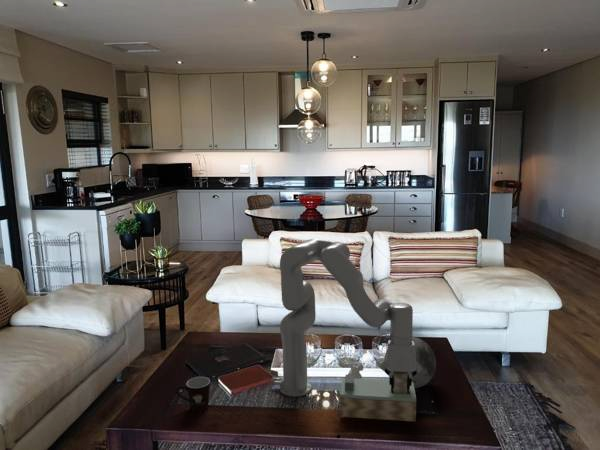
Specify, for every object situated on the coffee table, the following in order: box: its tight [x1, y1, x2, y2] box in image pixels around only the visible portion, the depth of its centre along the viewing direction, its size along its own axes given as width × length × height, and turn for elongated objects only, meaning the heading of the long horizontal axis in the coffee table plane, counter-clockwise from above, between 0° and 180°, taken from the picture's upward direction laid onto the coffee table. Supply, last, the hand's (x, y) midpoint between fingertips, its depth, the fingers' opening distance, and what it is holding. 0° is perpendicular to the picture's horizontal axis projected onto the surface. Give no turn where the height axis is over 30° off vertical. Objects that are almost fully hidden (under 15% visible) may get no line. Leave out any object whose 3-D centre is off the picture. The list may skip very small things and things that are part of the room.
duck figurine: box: [347, 360, 364, 379], centre depth 190 cm, size 12×8×11 cm
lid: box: [339, 374, 417, 403], centre depth 170 cm, size 26×12×4 cm, turn 82°
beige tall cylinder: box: [393, 371, 408, 394], centre depth 169 cm, size 5×5×15 cm
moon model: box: [383, 336, 437, 389], centre depth 189 cm, size 20×20×20 cm
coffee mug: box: [176, 376, 211, 412], centre depth 177 cm, size 12×9×10 cm
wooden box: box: [339, 388, 417, 422], centre depth 171 cm, size 26×12×8 cm, turn 82°
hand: (400, 386), depth 169 cm, fingers closed on beige tall cylinder, 4 cm apart
